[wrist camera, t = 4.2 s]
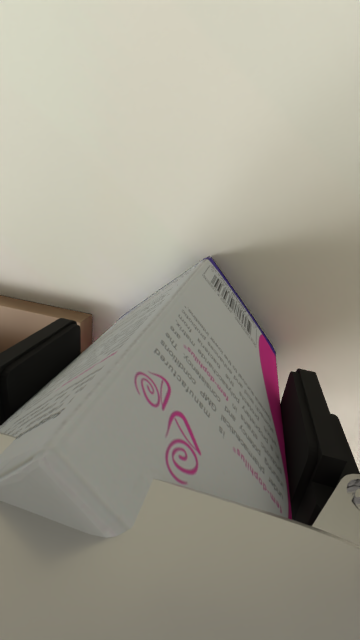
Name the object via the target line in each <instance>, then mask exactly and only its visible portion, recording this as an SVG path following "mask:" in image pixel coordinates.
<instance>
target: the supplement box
mask: <svg viewBox="0 0 360 640" xmlns="http://www.w3.org/2000/svg"><path fill="white" fill-rule="evenodd" d="M0 432H1V433H5V434H8V435H12V436H14V437H16V439H15V440H14V441H13V442H12V443H11V444H10V445H9V446H8V447H7V448H6V449H5V450H4V451H3V452H2V453H1V455H0V501H2V502H5V503H8V504H11V505H13V506H16V507H19V508H21V509H24V510H27V511H29V512H32V513H35V514H37V515H40V516H43V517H45V518H48V519H50V520H53V521H56V522H58V523H61V524H63V525H66V526H69V527H71V528H74V529H77V530H79V531H82V532H85V533H88V534H90V535H95V536H100V537H105V538H108V537H116V536H118V535H120V534H122V533H124V532H125V531H127V530H129V529H131V528H132V527H133V525H134V523H135V521H136V518H137V516H138V514H139V511H140V509H141V507H142V504H143V502H144V500H145V498H146V495H147V493H148V491H149V488H150V486H151V483H152V481H153V479H157V480H162V481H167V482H171V483H174V484H178V485H181V486H185V487H188V488H192V489H195V490H198V491H202V492H205V493H208V494H211V495H215V496H218V497H221V498H225V499H228V500H231V501H235V502H238V503H241V504H244V505H248V506H251V507H254V508H257V509H261V510H264V511H267V512H271V513H274V514H277V515H280V516H283V517H286V518H289V519H291V520H292V513H291V503H290V493H289V484H288V474H287V465H286V455H285V443H284V434H283V424H282V415H281V406H280V396H279V386H278V376H277V366H276V352H275V350H274V348H273V346H272V345H271V343H270V342H269V340H268V339H267V337H266V336H265V334H264V333H263V331H262V330H261V328H260V327H259V325H258V324H257V322H256V321H255V319H254V318H253V316H252V315H251V314H250V312H249V311H248V309H247V308H246V306H245V305H244V303H243V302H242V300H241V299H240V297H239V296H238V295H237V293H236V292H235V290H234V289H233V288H232V286H231V285H230V283H229V282H228V280H227V279H226V278H225V276H224V275H223V273H222V272H221V271H220V269H219V268H218V267H217V265H216V264H215V262H214V261H213V259H212V258H211V257H210V256H209V257H207V258H205V259H203V260H202V261H200V262H199V263H197V264H196V265H195V266H193V267H192V268H190V269H189V270H187V271H186V272H184V273H183V274H182V275H180V276H179V277H177V278H176V279H174V280H173V281H171V282H170V283H169V284H167V285H166V286H164V287H163V288H161V289H160V290H159V291H157V292H156V293H154V294H153V295H152V296H150V297H149V298H147V299H146V300H144V301H143V302H142V303H140V304H139V305H137V306H136V307H134V308H133V309H132V310H130V311H129V312H127V313H126V314H125V315H123V316H122V317H121V318H120V319H119V320H118V321H117V322H116V323H115V324H114V325H113V326H111V327H110V328H109V329H108V330H107V331H106V332H105V333H104V334H103V335H102V336H100V337H99V338H98V339H97V340H96V341H95V342H94V343H93V344H91V345H90V346H89V347H88V348H87V349H86V350H85V351H84V352H82V353H81V354H80V355H79V356H78V357H77V358H76V359H74V360H73V361H72V362H71V363H70V364H69V365H68V366H67V367H66V368H64V369H63V370H62V371H61V372H60V373H59V374H58V375H57V376H56V377H54V378H53V379H52V380H51V381H50V382H49V383H48V384H47V385H45V386H44V387H43V388H42V389H41V390H40V391H39V392H38V393H37V394H35V395H34V396H33V397H32V398H31V399H30V400H29V401H28V402H26V403H25V404H24V405H23V406H22V407H21V408H20V409H19V410H18V411H16V412H15V413H14V414H13V415H12V416H11V417H10V418H9V419H7V420H6V421H5V422H4V423H3V424H2V425H1V426H0Z"/></svg>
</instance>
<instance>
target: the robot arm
mask: <svg viewBox="0 0 360 640" xmlns="http://www.w3.org/2000/svg"><path fill="white" fill-rule="evenodd" d="M80 354H81V329H80V326H79V325H77V322H76V321H74V320H69V319H65V318H59V319H58V320H56V321H54V322H52V323H51V324H49V325H47V326H46V327H44V328H42V329H41V330H39V331H37V332H35V333H34V334H32V335H30V336H29V337H27V338H25V339H24V340H22V341H20V342H19V343H17V344H15V345H13V346H12V347H10V348H8V349H7V350H5V351H3V352H2V353H0V426H1V425H2V424H3V423H4V422H5V421H6V420H7V419H9V418H10V417H11V416H12V415H13V414H14V413H15V412H16V411H18V410H19V409H20V408H21V407H22V406H23V405H24V404H25V403H26V402H28V401H29V400H30V399H31V398H32V397H33V396H34V395H35V394H37V393H38V392H39V391H40V390H41V389H42V388H43V387H44V386H45V385H47V384H48V383H49V382H50V381H51V380H52V379H53V378H54V377H56V376H57V375H58V374H59V373H60V372H61V371H62V370H63V369H64V368H66V367H67V366H68V365H69V364H70V363H71V362H72V361H73V360H74V359H76V358H77V357H78V356H79V355H80ZM280 406H281V415H282V424H283V434H284V443H285V455H286V465H287V474H288V484H289V493H290V503H291V513H292V520H291V519H289V518H286V517H283V516H280V515H277V514H274V513H271V512H267V511H264V510H261V509H257V508H254V507H251V506H248V505H244V504H241V503H238V502H235V501H231V500H228V499H225V498H221V497H218V496H215V495H211V494H208V493H205V492H202V491H198V490H195V489H192V488H188V487H185V486H181V485H178V484H174V483H171V482H167V481H162V480H157V479H153V481H152V483H151V486H150V488H149V491H148V493H147V495H146V498H145V500H144V502H143V504H142V507H141V509H140V511H139V514H138V516H137V518H136V521H135V523H134V525H133V527H132V528H131V529H129V530H127V531H125V532H124V533H122V534H120V535H118V536H116V537H108V538H105V537H100V536H95V535H90V534H88V533H85V532H82V531H79V530H77V529H74V528H71V527H69V526H66V525H63V524H61V523H58V522H56V521H53V520H50V519H48V518H45V517H43V516H40V515H37V514H35V513H32V512H29V511H27V510H24V509H21V508H19V507H16V506H13V505H11V504H8V503H5V502H2V501H0V640H360V473H359V470H358V467H357V465H356V462H355V460H354V457H353V455H352V452H351V449H350V447H349V444H348V442H347V439H346V437H345V434H344V431H343V429H342V426H341V424H340V421H339V419H338V417H337V416H336V415H334V414H330V412H329V409H328V406H327V403H326V401H325V398H324V395H323V392H322V389H321V387H320V384H319V381H318V378H317V375H316V373H315V372H312V371H307V370H302V369H297V371H296V372H293V371H291V372H290V374H289V377H288V381H287V384H286V387H285V390H284V394H283V397H282V400H281V404H280ZM15 439H16V437H14V436H12V435H8V434H5V433H1V432H0V455H1V453H2V452H3V451H4V450H5V449H6V448H7V447H8V446H9V445H10V444H11V443H12V442H13V441H14V440H15Z"/></svg>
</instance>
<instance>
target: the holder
mask: <svg viewBox="0 0 360 640" xmlns="http://www.w3.org/2000/svg"><path fill="white" fill-rule="evenodd" d="M59 318H65V319H69V320H74V321H76V322H77V325H79V326H80V329H81V353H82V352H84V351H85V350H86V349H87V348H88V347H89V346H90V345H91V344H92V314H87V313H82V312H78V311H73V310H68V309H63V308H59V307H54V306H49V305H44V304H39V303H35V302H30V301H25V300H20V299H15V298H11V297H6V296H1V295H0V353H2V352H3V351H5V350H7V349H8V348H10V347H12V346H13V345H15V344H17V343H19V342H20V341H22V340H24V339H25V338H27V337H29V336H30V335H32V334H34V333H35V332H37V331H39V330H41V329H42V328H44V327H46V326H47V325H49V324H51V323H52V322H54V321H56V320H58V319H59Z"/></svg>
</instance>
